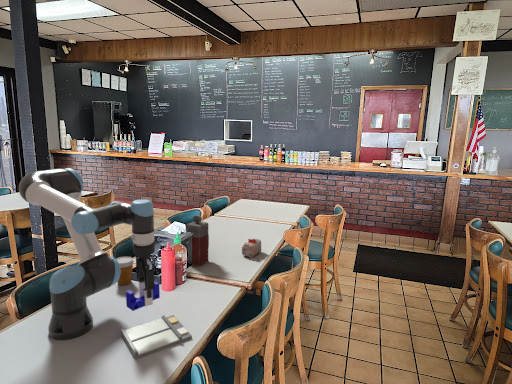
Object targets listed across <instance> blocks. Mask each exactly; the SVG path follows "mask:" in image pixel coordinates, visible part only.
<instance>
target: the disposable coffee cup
mask: <svg viewBox="0 0 512 384" xmlns="http://www.w3.org/2000/svg"><path fill="white" fill-rule="evenodd" d="M115 259H116V260H117V261H118V263H119V265H120V271H121V273H120V278H119V280H118V282H117V284H118V285H119V286H127V285H130V284H131V283H132V277H133V267H134V266H133V265H134V263H135V262H134V259H133V257H132V256H120V257H117V258H115Z"/></svg>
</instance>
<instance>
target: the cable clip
mask: <svg viewBox="0 0 512 384" xmlns="http://www.w3.org/2000/svg"><path fill="white" fill-rule="evenodd" d="M154 284H155V289H152V296H153V301H156V300H157V299H160V298H161V295H160V294H161V293H160V282H158V281H156V280H154ZM125 302H126V303H125V304H126V307H127V309H129V310H131V311H132V312H134V311H136V310H139V309H141V308H143V307H146V306H145V296H142V297H136V296H135V292H134V291H132V290H131V289H128V290H126V291H125Z"/></svg>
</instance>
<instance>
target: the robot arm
mask: <svg viewBox="0 0 512 384" xmlns="http://www.w3.org/2000/svg"><path fill="white" fill-rule="evenodd" d="M83 190H84V181H83V178H82V176H81V175H80V173H79V172H78V171H77V170H75V169H74V168H70V167H66V168H65V167H60V168H55V169H54V168H53V169H46V170H37V171H35V170H34V171H31V172H29V173H27V174H25V176H24V175H23V177H22V178H21V180H20V182H19V184H18V192H19V195H20V197H21V198H22V199H23V201H25V202H27V203H28V204H31V205H33V206H40V207H42V208H44V209H46V210H48V211H50V212H52V213H53V214H56V215H57V216H60V217H61V218H62V219H63V222H64V223H65V224H64V225H65V226H66V228H67V231H68V233H69V236H70V237H71V241H72V242H73V243H72V244H73V245H74V248H75V250H76V252H77V255H78V257H79V259H80V260H79V262H78V264H77V265H74V264H73V265H71V266H65V267H62V268H59V269H58V270H56V271H54V273H52V274H51V277H50V279H49V292H50V303H51V312H52V313H51V317H50V320H49V324H48V335H49V337H51V338H52V339H54V340H62V341H63V340H70V339H71V340H72V339H75V338H78V337H80V336H82V335H84V334H86V333H88V332H89V331H90V330H91V329H92V328H93V325H94V320H93V319H94V318H93V316H92V313H91V311H90V310H89V307H88V305H87V298H88V297H90V296H92V295H95V294H97V293H100V292H101V291H104V290H105V289H106V290H107V289H109V288H110V287H112V286H114V285H115V284H118V280H119V278H120V273H121V271H120V265H119V263H118V261H117V260H116V259H117V258H115V256H109V254H108V252H107V251H104V250H103V249H102V248H101V245H100V243H99V241H98V238H97V236H96V234H95V232H98V231H101V230H104V229H108V228H112V227H115V226H119V225H123V224H124V225H128V226H129V225H130V226H131V232H132V235H131V236H130V237H131V239H132V243H133V244H132V253H133V255H134V256H135V270H136V271H135V273H136V279H137V281H138V293H139V294H138V295H139V297H142V296H145V306H144V307H148V306H153V304H154V300H153V296H152V289H155V284H154V281H155V263H152V257H151V255H153V254H154V253H155V252H156V249H155V247H156V246H155V239H156V238H155V224H154V222H155V221H154V220H155V218H154V217H155V216H154V214H155V211H154V204H153V202H152V200H149V199H143V198H142V199H135V200H133V201H131V202H129V203H128V202H124V201H118V200H117V201H116V200H115V201H112V202H110V203H109V204H107V205H105V206H100V207H97V208H96V207H95V208H94V207H92V206H91V205H90V206H89V205H88V204H85V203H84V202H81V197H82V196H83V194H82V192H83ZM139 297H138V298H139Z"/></svg>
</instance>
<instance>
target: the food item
mask: <svg viewBox="0 0 512 384" xmlns="http://www.w3.org/2000/svg"><path fill="white" fill-rule="evenodd" d="M247 240H248V242H244V243H243V245H242V246H241V255H243V256H244V257H247V258H249V259H252V258H254V257H255V256H256V255H258V254H259V253H261V252H262V240H260V239H258V238H248V239H247Z"/></svg>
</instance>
